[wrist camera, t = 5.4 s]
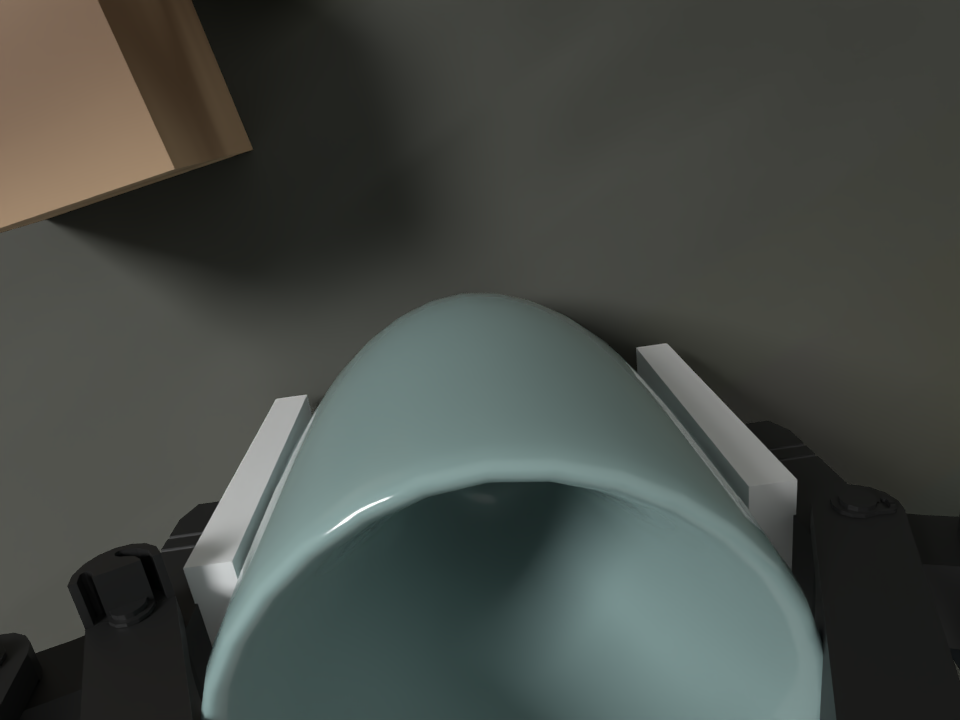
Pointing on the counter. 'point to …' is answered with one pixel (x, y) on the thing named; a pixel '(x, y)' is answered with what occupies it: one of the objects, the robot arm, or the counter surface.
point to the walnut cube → (105, 102)
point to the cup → (507, 546)
